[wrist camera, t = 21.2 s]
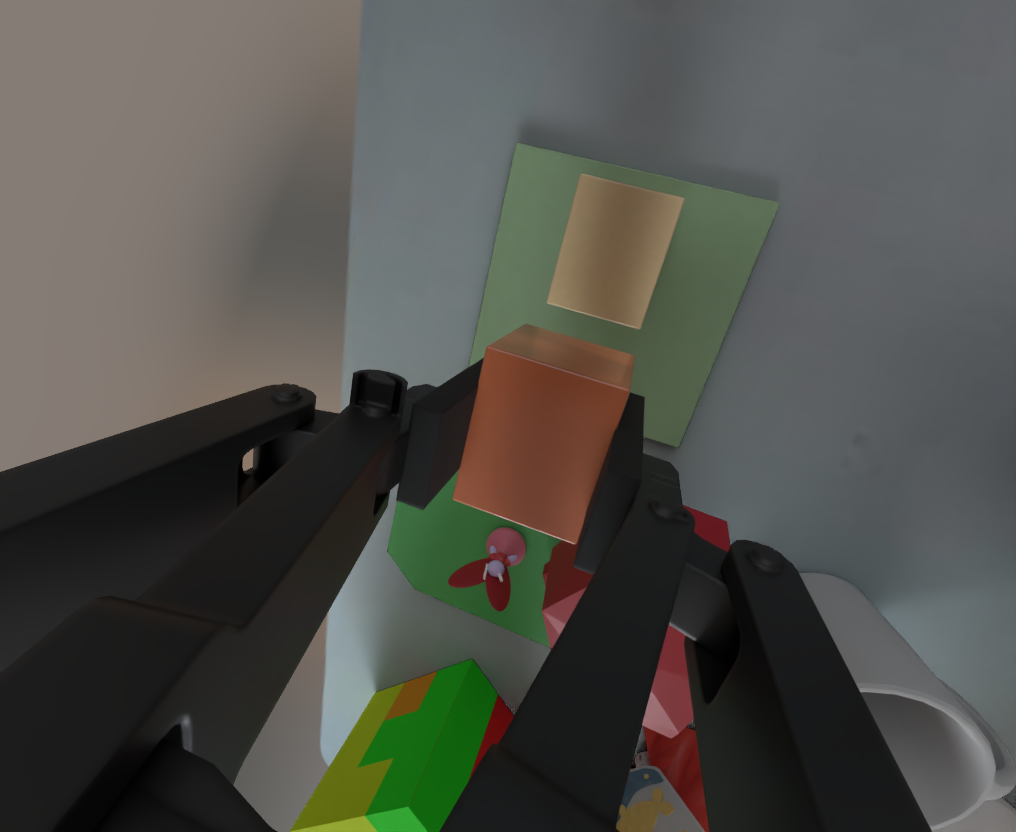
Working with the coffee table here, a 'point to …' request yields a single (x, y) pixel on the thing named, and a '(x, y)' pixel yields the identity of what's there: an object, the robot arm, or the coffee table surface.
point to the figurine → (665, 787)
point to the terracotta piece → (542, 428)
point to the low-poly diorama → (525, 583)
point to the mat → (676, 297)
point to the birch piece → (613, 250)
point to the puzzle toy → (409, 755)
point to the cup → (915, 709)
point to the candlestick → (986, 819)
